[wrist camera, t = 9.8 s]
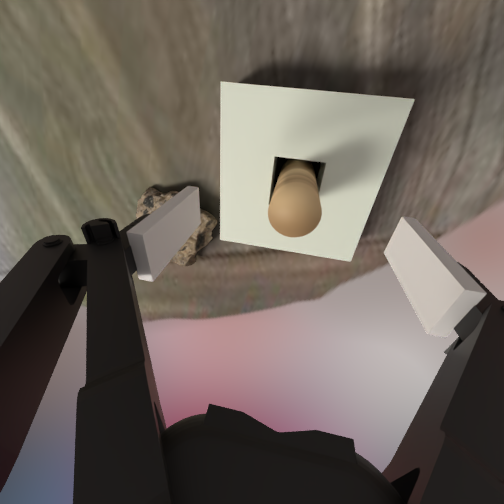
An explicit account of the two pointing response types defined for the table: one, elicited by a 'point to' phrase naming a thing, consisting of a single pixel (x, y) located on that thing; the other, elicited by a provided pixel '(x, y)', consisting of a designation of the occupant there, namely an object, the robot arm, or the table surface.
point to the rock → (196, 241)
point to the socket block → (304, 148)
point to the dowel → (295, 200)
